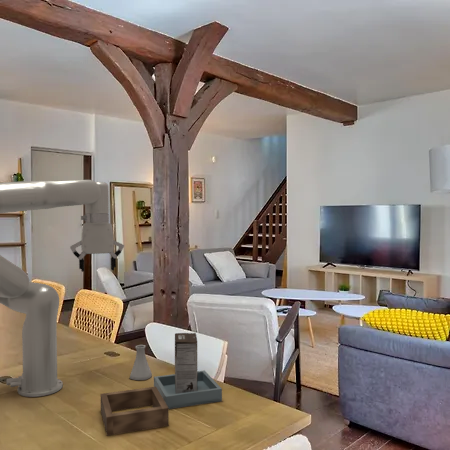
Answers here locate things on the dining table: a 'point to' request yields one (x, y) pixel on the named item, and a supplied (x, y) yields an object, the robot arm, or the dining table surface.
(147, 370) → the flask
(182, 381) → the coffee box
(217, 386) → the slate tray
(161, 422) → the walnut tray
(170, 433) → the dining table surface
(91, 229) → the robot arm
